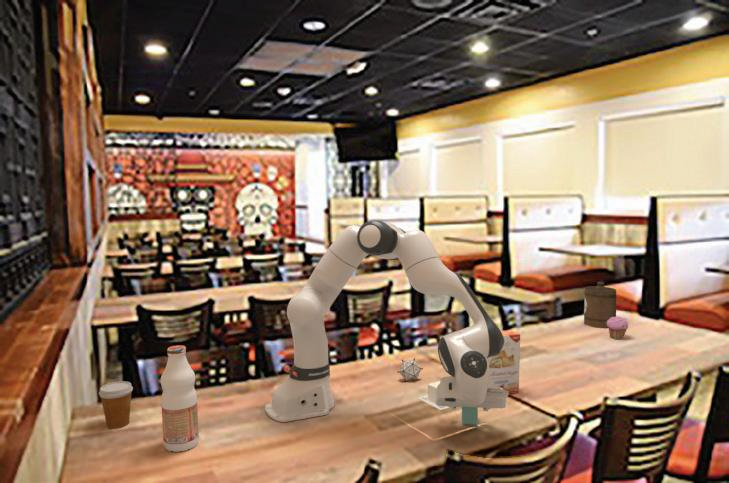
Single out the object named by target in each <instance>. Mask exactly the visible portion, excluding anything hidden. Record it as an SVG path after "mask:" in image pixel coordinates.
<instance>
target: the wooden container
mask: <svg viewBox="0 0 729 483" xmlns="http://www.w3.org/2000/svg"><path fill="white" fill-rule="evenodd" d="M596 283H597V284H596V286H587V287H585V288H584V303H583V304H584V305H583V308H584V309H583V324H585V325H586V326H589V327H592V328H599V329H600V328H603V329H605V328H606V329H609V327H608V326H607V321H608V320H609V319H610V318H611V317H617V289H616V288H613V287H605V282H603V281H602V280H599V281H597V282H596Z"/></svg>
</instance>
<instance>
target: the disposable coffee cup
mask: <svg viewBox="0 0 729 483" xmlns="http://www.w3.org/2000/svg"><path fill="white" fill-rule="evenodd" d="M133 390H134V387H133V386H132V383H131V382H130V381H114V382H109V383H106V384H104V385H102V386H101V387H100V388H99V392H98V395H99V397H100V399H101V400H100V401H101V404H102V409H103V414H104V418H105V423H106V427H107V428H108V427H109V428H108V429H120V428H124V427H125V426H128V425H129V423H130V416H131V404H132V403H131V401H132V392H133ZM123 426H124V427H123Z"/></svg>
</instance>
